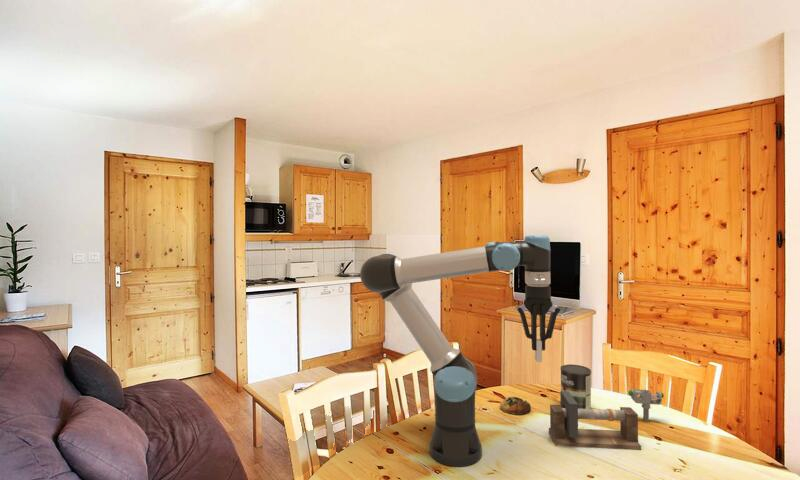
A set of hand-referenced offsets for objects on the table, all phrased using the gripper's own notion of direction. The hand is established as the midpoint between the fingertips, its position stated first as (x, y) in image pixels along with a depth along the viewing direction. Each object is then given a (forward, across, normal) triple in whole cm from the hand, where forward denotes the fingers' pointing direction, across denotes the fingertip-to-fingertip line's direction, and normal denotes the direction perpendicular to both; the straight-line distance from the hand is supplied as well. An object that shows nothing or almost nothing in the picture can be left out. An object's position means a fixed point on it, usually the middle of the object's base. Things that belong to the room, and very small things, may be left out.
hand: (538, 360), depth 127 cm
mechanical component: (+25, +38, +15) cm, 48 cm away
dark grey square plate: (+21, +9, 0) cm, 23 cm away
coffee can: (+25, +18, +24) cm, 39 cm away
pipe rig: (+24, +16, 0) cm, 29 cm away
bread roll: (+25, -4, +21) cm, 33 cm away
